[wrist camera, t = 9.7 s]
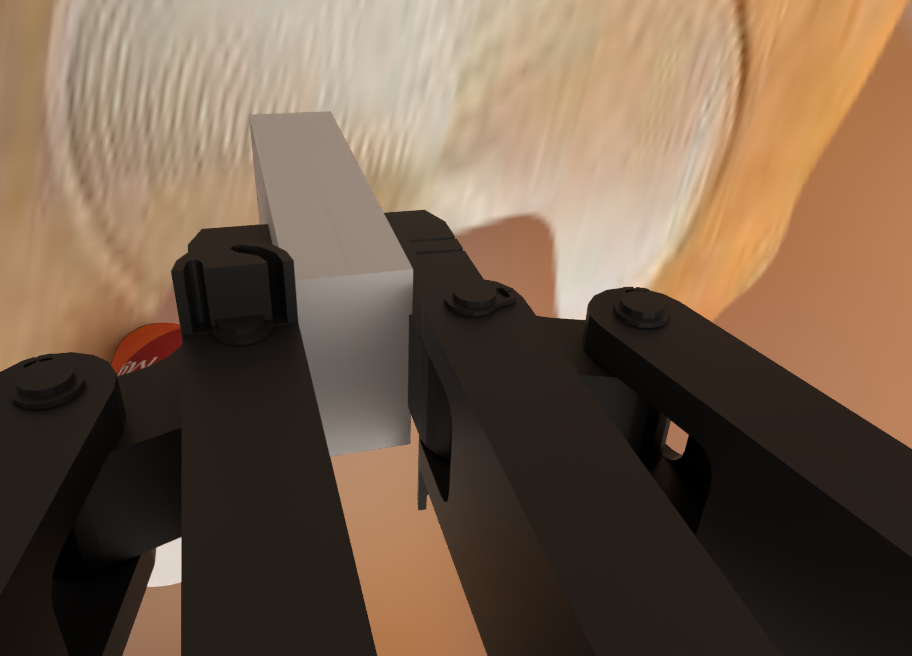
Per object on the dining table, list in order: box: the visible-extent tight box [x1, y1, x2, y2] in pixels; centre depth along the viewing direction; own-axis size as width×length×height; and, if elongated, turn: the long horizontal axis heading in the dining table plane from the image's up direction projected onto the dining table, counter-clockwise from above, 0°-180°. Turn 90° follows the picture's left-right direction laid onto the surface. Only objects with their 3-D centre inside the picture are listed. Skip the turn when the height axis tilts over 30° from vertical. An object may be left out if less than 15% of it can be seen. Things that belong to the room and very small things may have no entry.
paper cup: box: [111, 323, 182, 587], centre depth 40 cm, size 8×8×14 cm
